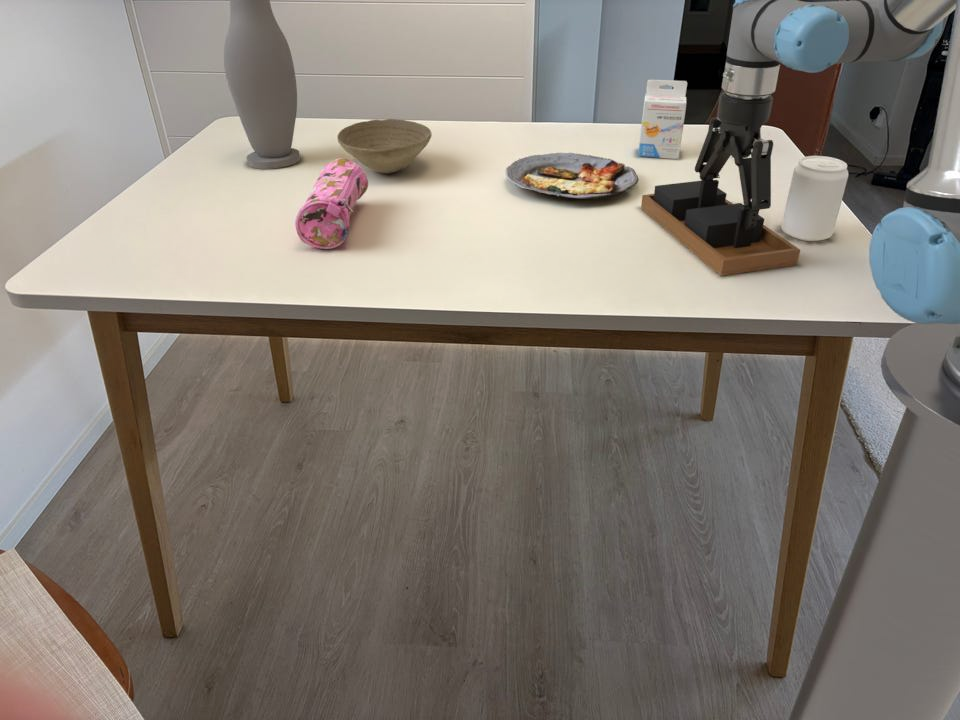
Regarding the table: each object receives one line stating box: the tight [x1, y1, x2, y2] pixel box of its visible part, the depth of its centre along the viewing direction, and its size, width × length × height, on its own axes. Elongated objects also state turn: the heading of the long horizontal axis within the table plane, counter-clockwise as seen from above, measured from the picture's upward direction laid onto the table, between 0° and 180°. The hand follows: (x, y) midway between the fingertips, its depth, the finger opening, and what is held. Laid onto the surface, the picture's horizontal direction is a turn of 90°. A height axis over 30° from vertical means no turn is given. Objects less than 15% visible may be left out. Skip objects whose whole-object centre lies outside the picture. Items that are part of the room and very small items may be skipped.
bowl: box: [336, 118, 432, 174], centre depth 151 cm, size 18×18×8 cm
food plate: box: [505, 152, 639, 200], centre depth 145 cm, size 25×23×4 cm
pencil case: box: [294, 157, 369, 250], centre depth 128 cm, size 21×9×9 cm, turn 179°
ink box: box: [638, 79, 688, 160], centre depth 156 cm, size 8×5×15 cm, turn 78°
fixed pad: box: [653, 180, 727, 221], centre depth 131 cm, size 7×10×4 cm
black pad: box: [684, 202, 765, 248], centre depth 122 cm, size 7×10×4 cm
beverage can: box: [780, 155, 849, 242], centre depth 122 cm, size 8×8×12 cm
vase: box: [223, 0, 301, 170], centre depth 150 cm, size 13×13×35 cm
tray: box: [640, 193, 801, 277], centre depth 125 cm, size 28×13×3 cm, turn 15°
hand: (722, 231), depth 123 cm, fingers open, 11 cm apart
